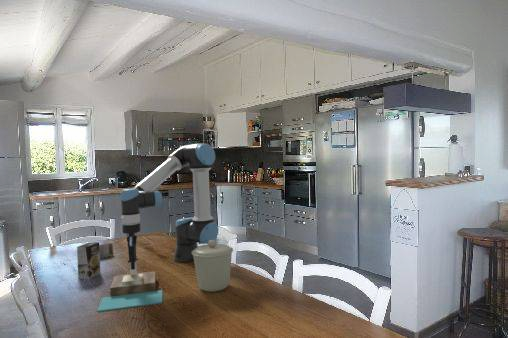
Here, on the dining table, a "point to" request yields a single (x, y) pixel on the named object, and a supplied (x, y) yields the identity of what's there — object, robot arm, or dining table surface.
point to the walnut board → (146, 285)
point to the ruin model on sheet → (106, 250)
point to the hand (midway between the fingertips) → (133, 275)
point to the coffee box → (88, 260)
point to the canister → (212, 266)
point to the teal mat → (130, 300)
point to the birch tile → (132, 280)
